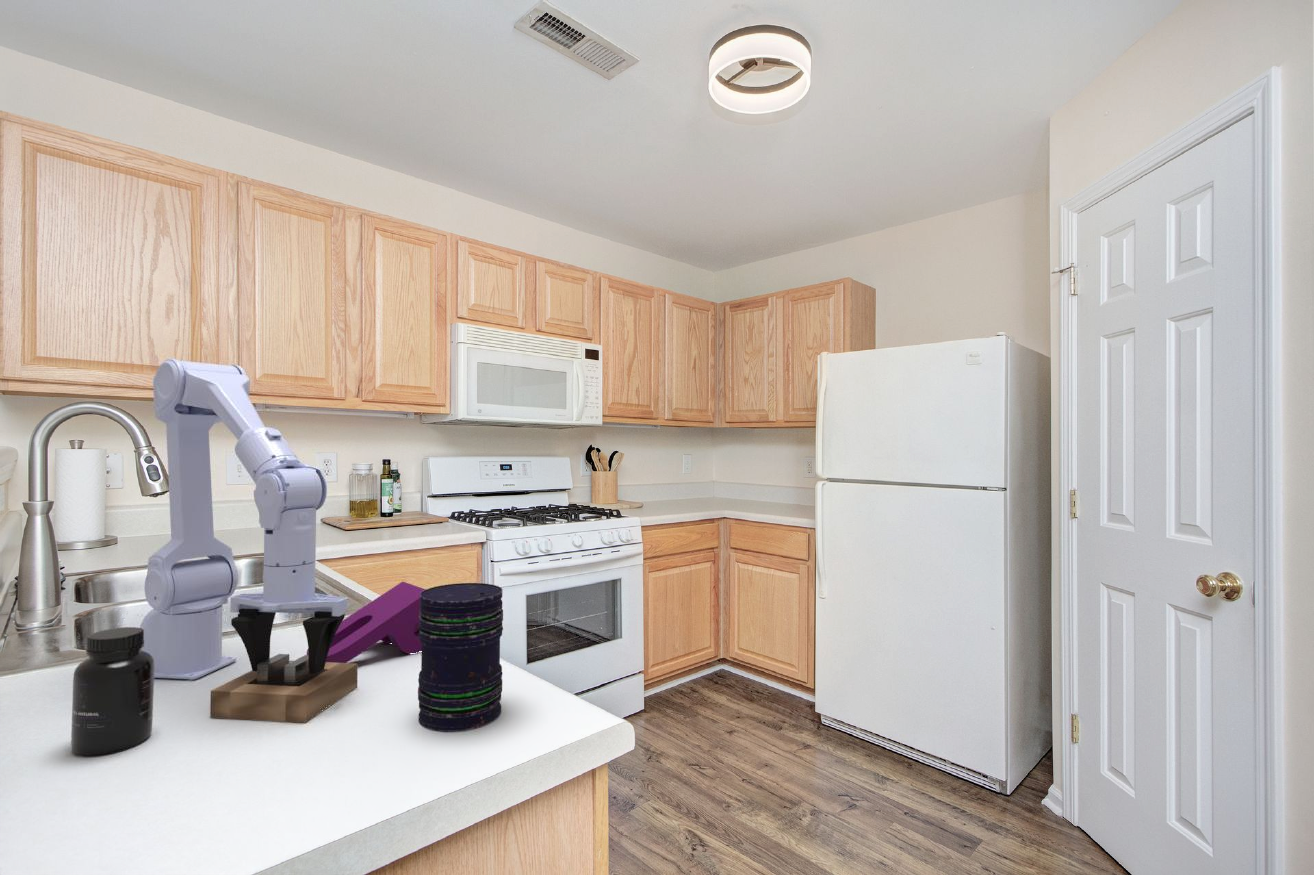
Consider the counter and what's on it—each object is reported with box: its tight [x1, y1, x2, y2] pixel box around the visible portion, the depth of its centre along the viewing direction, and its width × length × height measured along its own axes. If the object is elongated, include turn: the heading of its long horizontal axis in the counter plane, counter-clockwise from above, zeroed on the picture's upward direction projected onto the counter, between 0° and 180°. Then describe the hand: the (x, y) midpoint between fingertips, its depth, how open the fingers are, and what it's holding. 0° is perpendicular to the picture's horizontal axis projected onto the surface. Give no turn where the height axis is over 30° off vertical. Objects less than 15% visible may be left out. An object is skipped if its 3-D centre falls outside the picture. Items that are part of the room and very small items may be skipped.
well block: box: [209, 660, 359, 724], centre depth 82 cm, size 12×11×3 cm
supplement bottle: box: [70, 626, 155, 757], centre depth 71 cm, size 7×7×12 cm
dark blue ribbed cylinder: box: [417, 582, 504, 733], centre depth 79 cm, size 10×10×15 cm
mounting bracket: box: [306, 581, 427, 663], centre depth 101 cm, size 9×8×18 cm
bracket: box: [257, 653, 315, 687], centre depth 82 cm, size 5×4×6 cm
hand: (288, 670), depth 82 cm, fingers open, 7 cm apart
